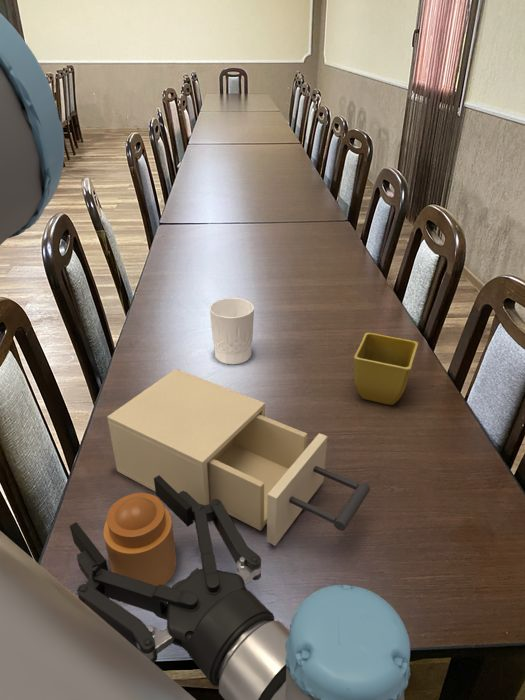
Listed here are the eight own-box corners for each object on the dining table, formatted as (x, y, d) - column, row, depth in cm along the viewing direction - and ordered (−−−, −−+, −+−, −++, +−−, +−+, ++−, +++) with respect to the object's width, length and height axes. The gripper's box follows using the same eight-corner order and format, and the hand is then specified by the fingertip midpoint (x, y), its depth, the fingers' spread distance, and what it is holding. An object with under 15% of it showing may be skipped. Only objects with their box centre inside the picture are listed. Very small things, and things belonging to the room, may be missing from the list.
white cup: (244, 370, 96) (243, 320, 91) (204, 361, 99) (202, 313, 93) (260, 349, 103) (260, 301, 97) (222, 341, 105) (220, 294, 100)
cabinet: (264, 456, 77) (265, 402, 72) (206, 519, 67) (202, 462, 62) (180, 419, 84) (175, 368, 79) (116, 471, 74) (106, 416, 69)
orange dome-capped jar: (146, 606, 57) (135, 543, 52) (98, 574, 60) (83, 512, 55) (189, 558, 62) (183, 496, 57) (143, 531, 65) (133, 470, 60)
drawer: (374, 503, 68) (381, 457, 64) (330, 575, 59) (336, 527, 55) (234, 442, 78) (233, 398, 74) (179, 495, 69) (174, 449, 65)
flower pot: (402, 416, 85) (410, 368, 80) (348, 403, 88) (353, 357, 83) (410, 386, 92) (418, 341, 87) (360, 376, 95) (365, 331, 90)
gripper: (141, 775, 42) (27, 587, 56) (330, 600, 55) (199, 483, 69) (129, 728, 38) (11, 539, 52) (335, 552, 51) (196, 438, 65)
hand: (118, 507), depth 61 cm, fingers open, 10 cm apart
